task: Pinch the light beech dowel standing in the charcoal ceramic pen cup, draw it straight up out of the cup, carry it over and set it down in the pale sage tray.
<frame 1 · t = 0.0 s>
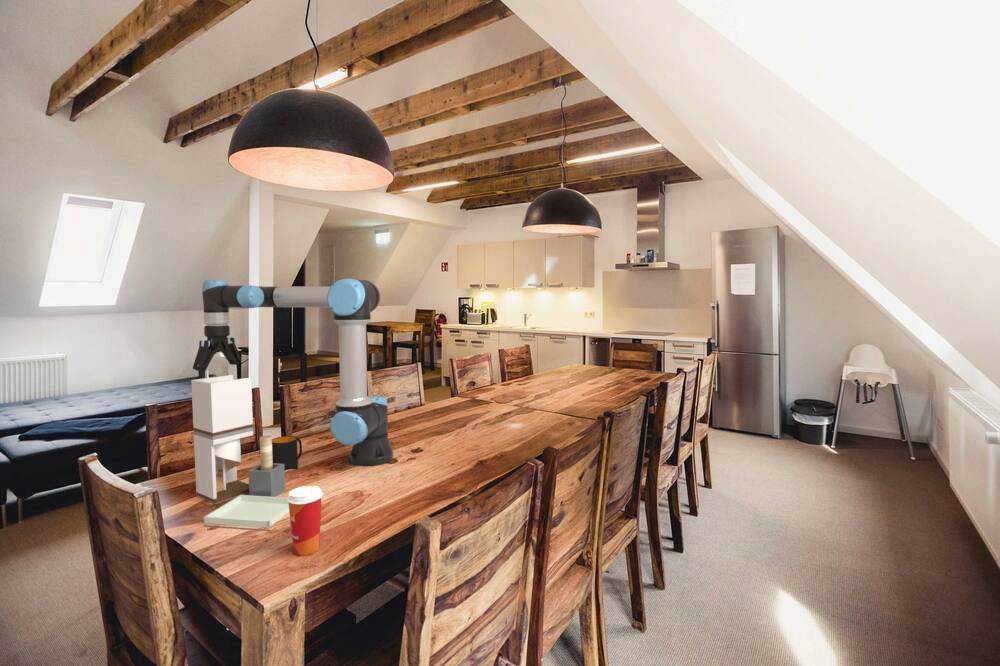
hand: (219, 386, 164), 28 cm above the table, fingers open, 13 cm apart
paper cup: (306, 550, 110), on the table
dowel: (267, 493, 139), point 1 cm above the table, touching pen cup
mug: (289, 467, 164), on the table
white coffee maker: (226, 496, 140), on the table
tray: (254, 516, 127), on the table
pen cup: (267, 497, 139), on the table
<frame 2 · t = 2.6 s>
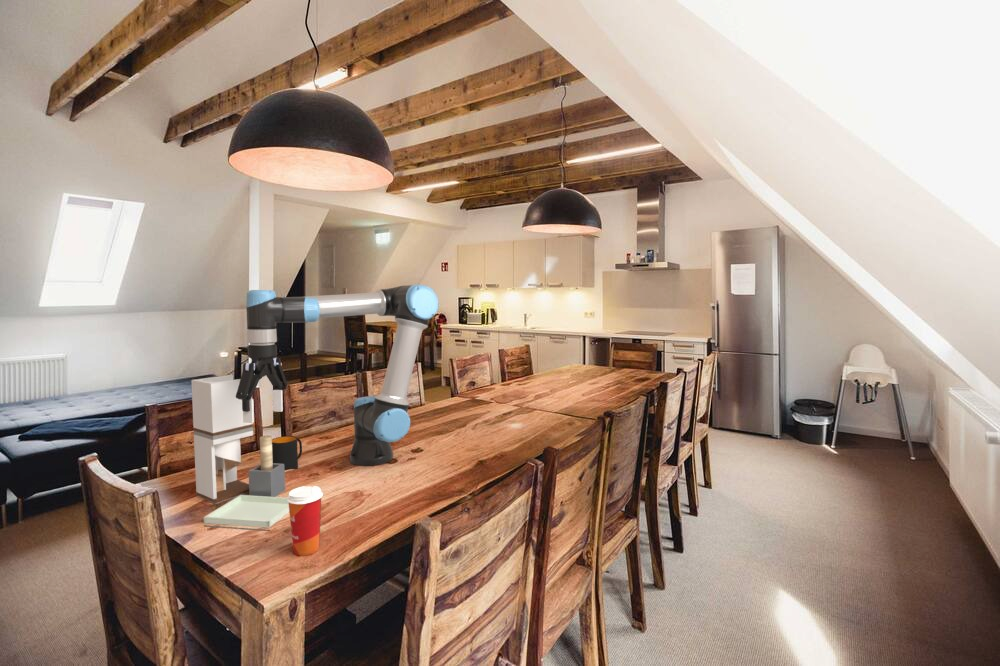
hand: (264, 416, 138), 24 cm above the table, fingers open, 13 cm apart
nothing on the table moved.
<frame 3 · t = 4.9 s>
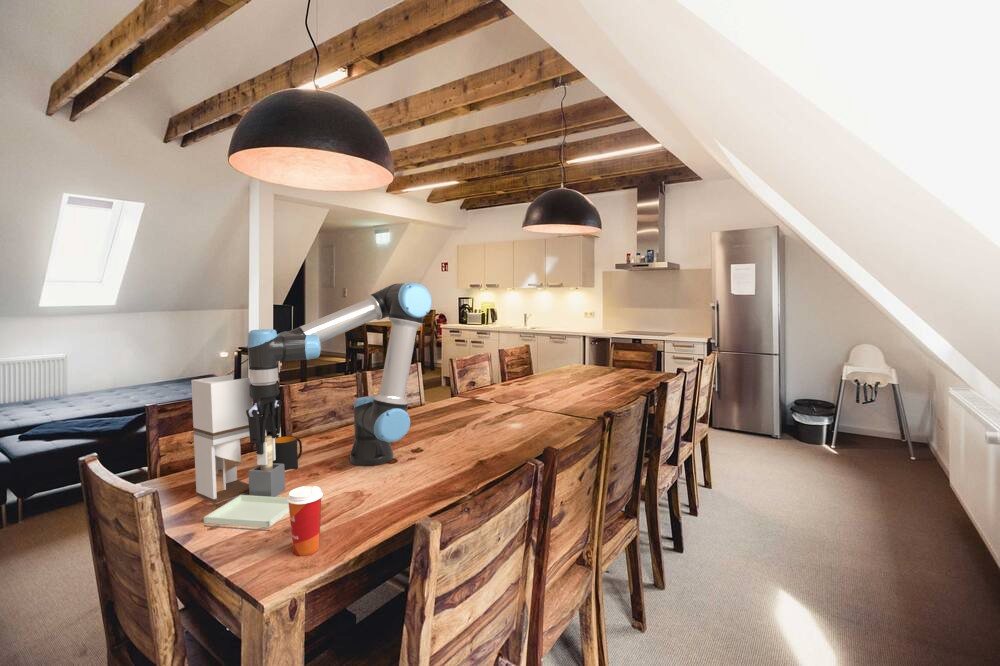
hand: (266, 462, 139), 11 cm above the table, fingers closed on dowel, 3 cm apart
dowel: (267, 493, 139), point 1 cm above the table, touching gripper, pen cup
everything else where it was.
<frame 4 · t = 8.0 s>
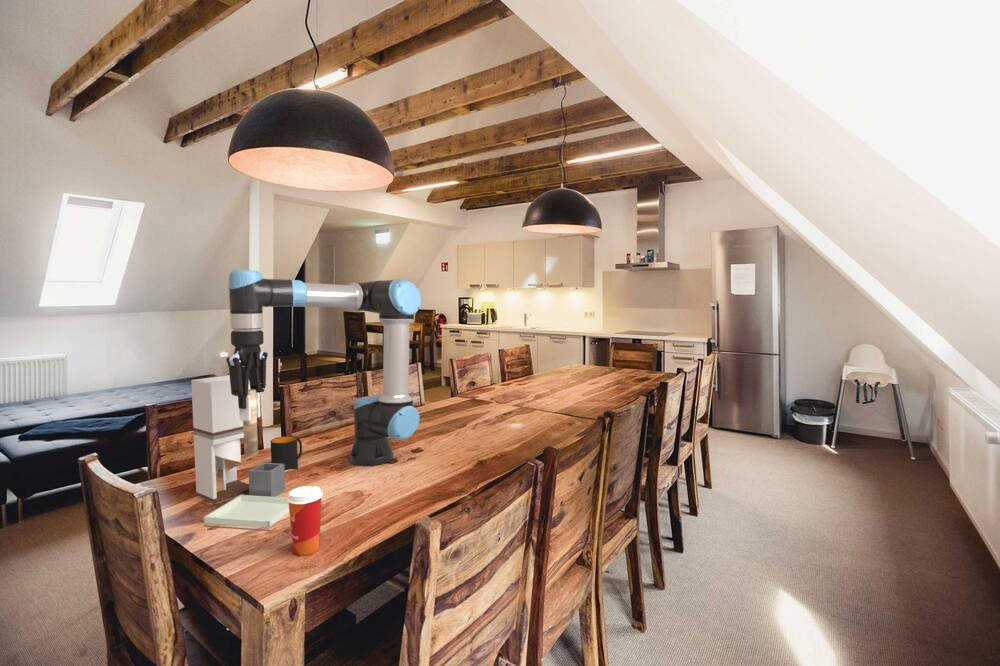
hand: (250, 418, 125), 27 cm above the table, fingers closed on dowel, 3 cm apart
dowel: (251, 453, 126), point 17 cm above the table, touching gripper
everything else where it was.
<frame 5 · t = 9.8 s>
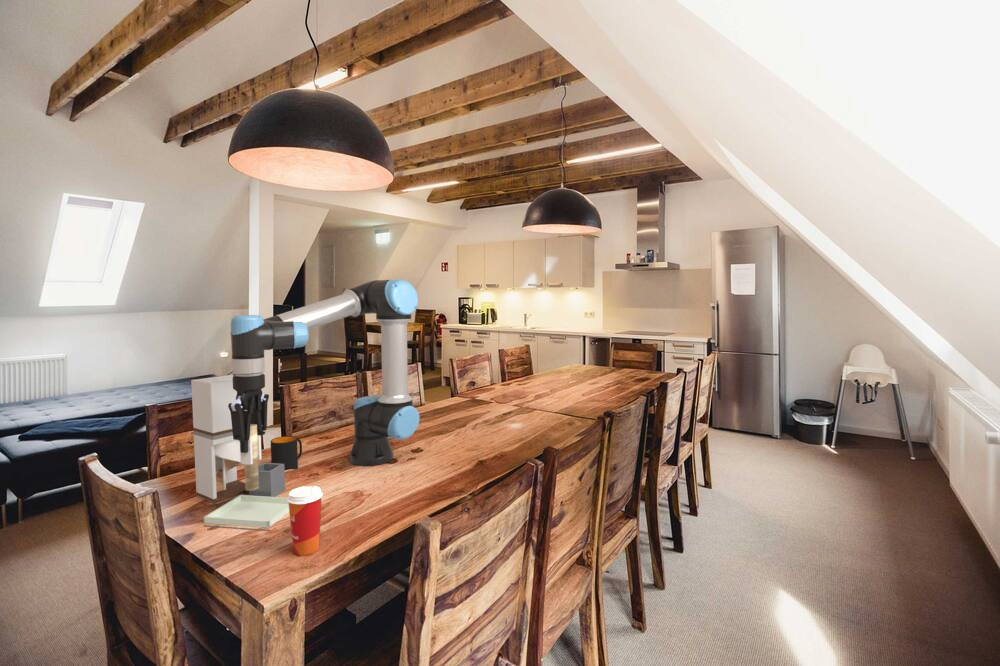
hand: (251, 461, 126), 15 cm above the table, fingers closed on dowel, 3 cm apart
dowel: (252, 488, 126), point 8 cm above the table, touching gripper
everything else where it was.
when the fingers open (12 cm above the table, at t = 11.2 s): dowel drops 3 cm, resting on tray.
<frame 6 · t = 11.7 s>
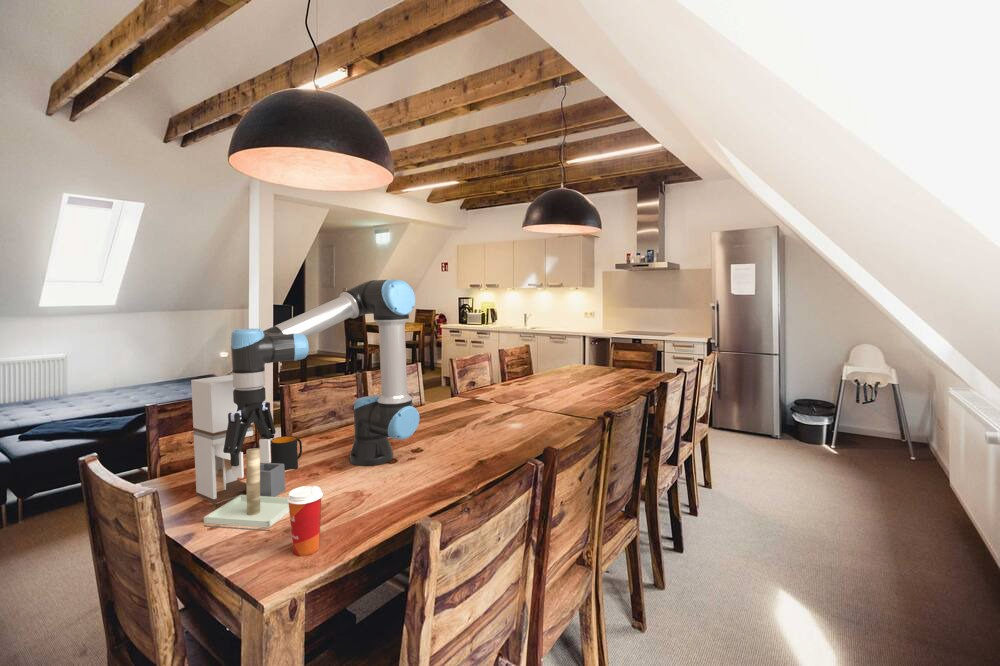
hand: (252, 469, 126), 13 cm above the table, fingers open, 10 cm apart
dowel: (253, 512, 127), point 1 cm above the table, touching tray
everything else where it was.
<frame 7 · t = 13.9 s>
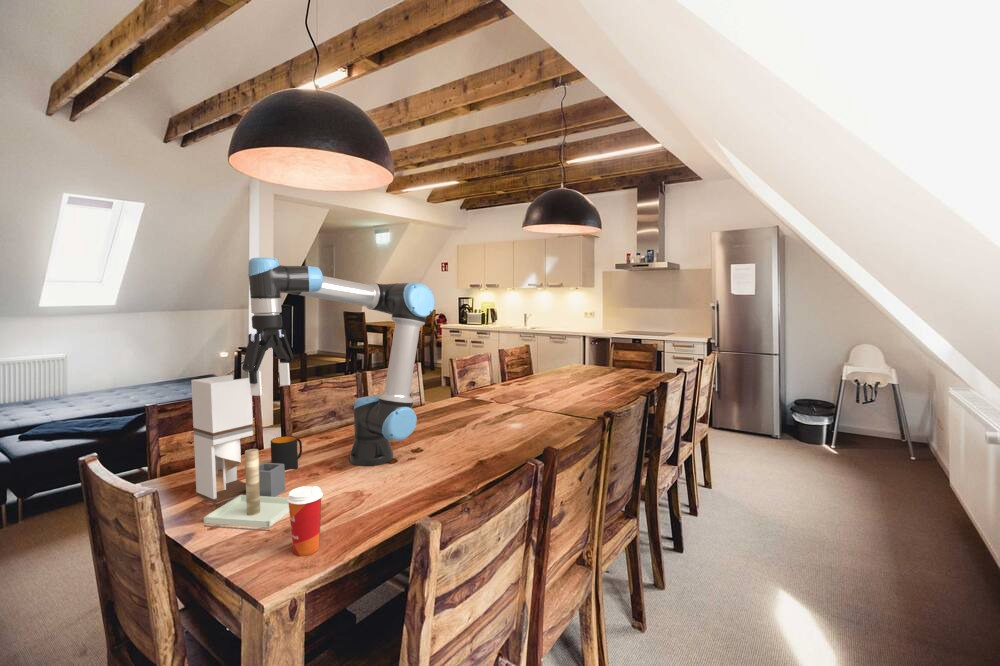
hand: (271, 390, 133), 33 cm above the table, fingers open, 13 cm apart
nothing on the table moved.
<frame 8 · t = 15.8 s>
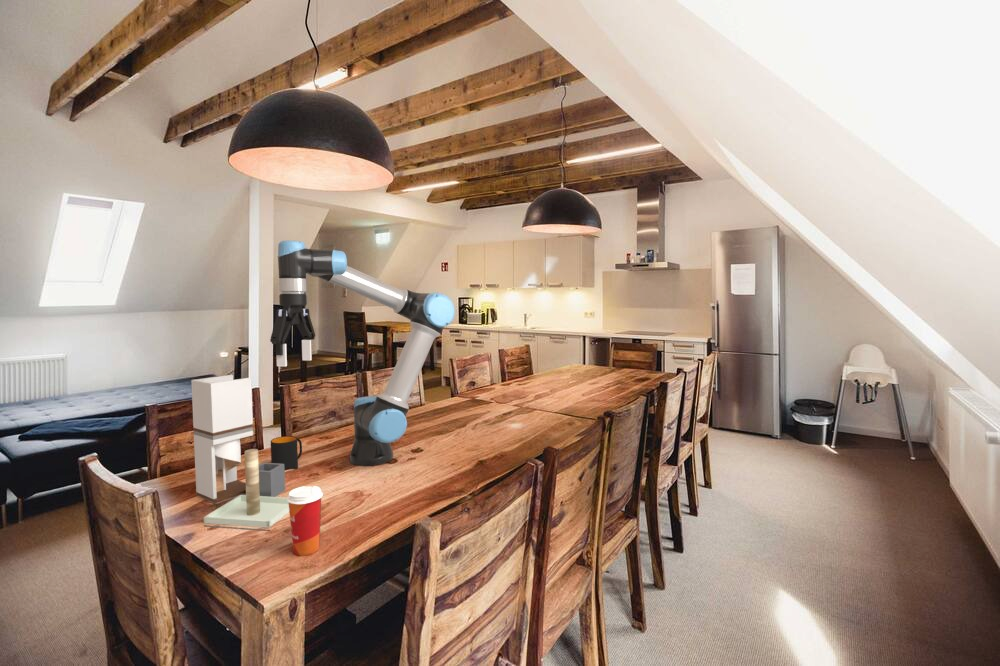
hand: (295, 363, 144), 39 cm above the table, fingers open, 13 cm apart
nothing on the table moved.
at the end: dowel inside the target area on the tray (0.1 cm from its centre), point 1.0 cm above the tray's base; the gripper is holding nothing; dowel touching tray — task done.
